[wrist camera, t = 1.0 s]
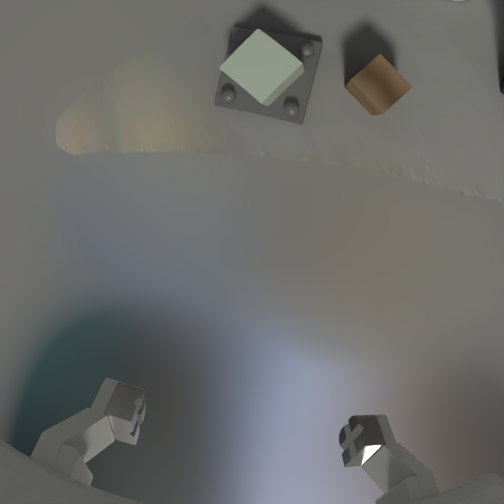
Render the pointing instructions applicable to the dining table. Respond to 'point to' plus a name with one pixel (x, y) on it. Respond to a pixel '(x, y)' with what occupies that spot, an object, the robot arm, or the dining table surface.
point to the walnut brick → (378, 86)
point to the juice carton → (502, 87)
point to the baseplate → (290, 96)
